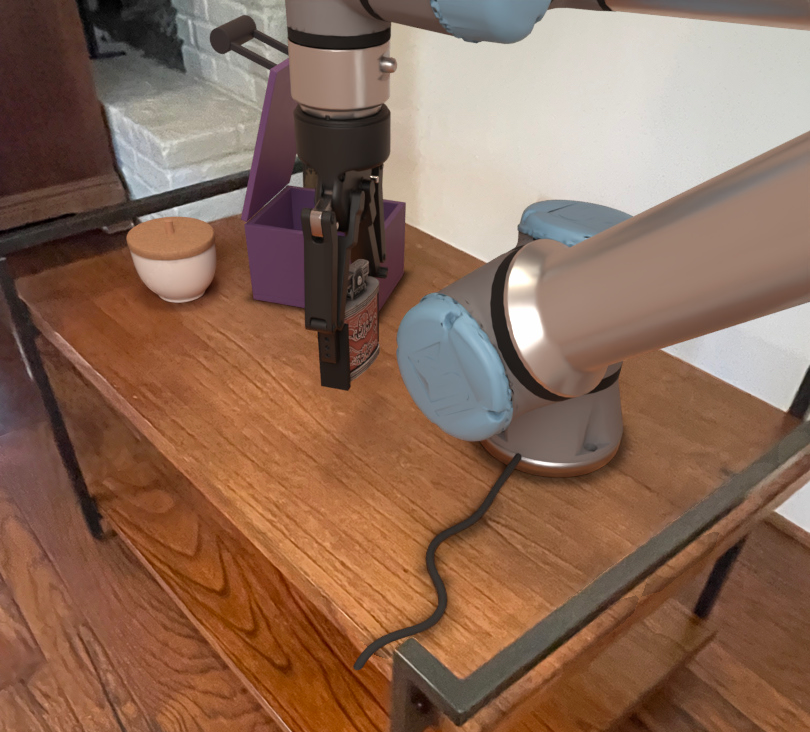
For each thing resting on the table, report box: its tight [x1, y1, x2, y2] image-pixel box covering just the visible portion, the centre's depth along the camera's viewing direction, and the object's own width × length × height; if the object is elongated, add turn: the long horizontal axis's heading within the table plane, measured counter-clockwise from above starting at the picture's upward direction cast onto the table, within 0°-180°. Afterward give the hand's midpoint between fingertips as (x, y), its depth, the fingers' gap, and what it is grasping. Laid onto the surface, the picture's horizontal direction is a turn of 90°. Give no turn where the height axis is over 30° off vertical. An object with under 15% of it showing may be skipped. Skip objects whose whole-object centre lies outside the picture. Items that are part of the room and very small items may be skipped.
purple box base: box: [243, 184, 407, 312], centre depth 98 cm, size 17×14×10 cm
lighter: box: [344, 259, 381, 382], centre depth 70 cm, size 8×3×10 cm, turn 152°
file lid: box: [209, 14, 298, 223], centre depth 89 cm, size 17×14×9 cm
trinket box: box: [126, 216, 218, 304], centre depth 96 cm, size 11×11×9 cm
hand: (351, 362), depth 74 cm, fingers closed on lighter, 8 cm apart
